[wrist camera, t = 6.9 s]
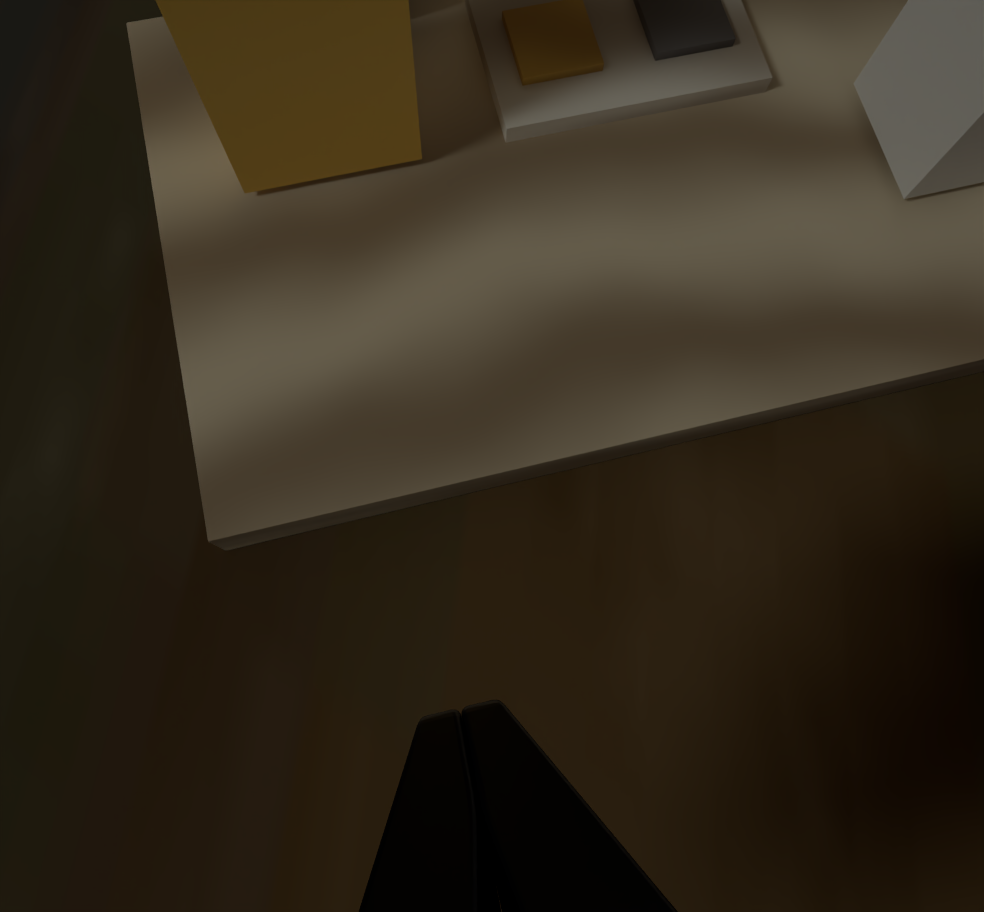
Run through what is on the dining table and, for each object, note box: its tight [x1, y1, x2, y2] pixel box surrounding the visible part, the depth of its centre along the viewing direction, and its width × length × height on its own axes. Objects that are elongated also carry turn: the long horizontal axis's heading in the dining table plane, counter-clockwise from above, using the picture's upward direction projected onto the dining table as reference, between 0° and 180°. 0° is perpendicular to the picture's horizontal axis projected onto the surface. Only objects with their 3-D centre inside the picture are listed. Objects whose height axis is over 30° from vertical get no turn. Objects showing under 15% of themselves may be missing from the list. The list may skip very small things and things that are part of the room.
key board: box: [127, 0, 984, 550], centre depth 22 cm, size 16×28×4 cm, turn 104°
